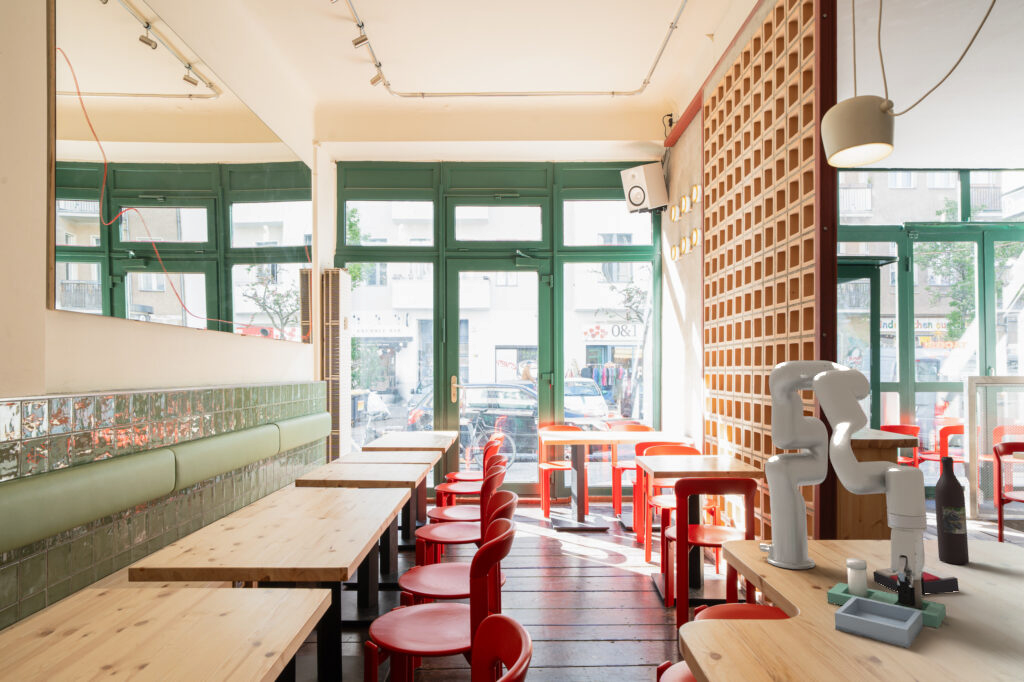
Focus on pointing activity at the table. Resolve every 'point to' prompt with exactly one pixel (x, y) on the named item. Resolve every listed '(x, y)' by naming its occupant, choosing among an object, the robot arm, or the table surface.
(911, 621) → the parts tray
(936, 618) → the block
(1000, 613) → the table surface
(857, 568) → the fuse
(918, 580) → the fuse
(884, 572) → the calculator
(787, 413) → the robot arm
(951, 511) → the wine bottle
